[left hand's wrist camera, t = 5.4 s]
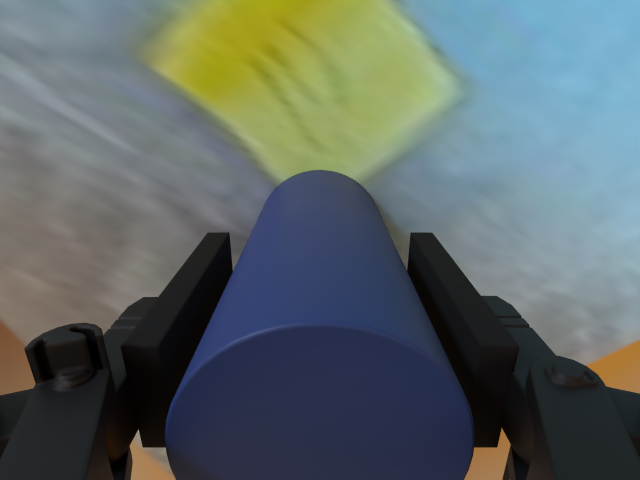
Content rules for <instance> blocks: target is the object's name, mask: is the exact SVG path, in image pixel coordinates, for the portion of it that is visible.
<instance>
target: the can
mask: <svg viewBox="0 0 640 480" xmlns="http://www.w3.org/2000/svg"><path fill="white" fill-rule="evenodd" d="M165 441H166V452H167V456H168V460H169V464H170V467H171V470H172V472H173V474H174V476H175V478H176V480H464V478H465V476H466V474H467V472H468V470H469V467H470V464H471V460H472V457H473V451H474V442H475V431H474V420H473V416H472V412H471V408H470V405H469V403H468V401H467V398H466V396H465V394H464V391H463V389H462V387H461V385H460V383H459V381H458V379H457V377H456V374H455V372H454V370H453V368H452V366H451V364H450V362H449V360H448V358H447V355H446V353H445V351H444V349H443V347H442V345H441V343H440V341H439V338H438V336H437V334H436V332H435V330H434V328H433V326H432V324H431V321H430V319H429V317H428V315H427V313H426V311H425V309H424V307H423V304H422V302H421V300H420V298H419V296H418V294H417V292H416V290H415V287H414V285H413V283H412V281H411V279H410V277H409V275H408V273H407V270H406V268H405V266H404V264H403V262H402V260H401V258H400V256H399V254H398V251H397V249H396V247H395V245H394V243H393V241H392V239H391V237H390V234H389V232H388V230H387V228H386V226H385V224H384V222H383V220H382V217H381V215H380V213H379V211H378V209H377V207H376V205H375V203H374V201H373V199H372V198H371V196H370V195H369V193H368V192H367V191H366V190H365V189H364V188H363V187H362V186H361V185H360V184H359V183H357V182H356V181H354V180H353V179H351V178H349V177H347V176H345V175H343V174H340V173H337V172H332V171H323V170H317V171H308V172H303V173H300V174H297V175H295V176H293V177H291V178H289V179H287V180H286V181H284V182H283V183H281V184H280V185H279V186H278V187H277V188H276V189H275V190H274V191H273V192H272V193H271V195H270V196H269V198H268V199H267V201H266V203H265V205H264V207H263V209H262V211H261V213H260V216H259V218H258V220H257V222H256V224H255V226H254V228H253V230H252V233H251V235H250V237H249V239H248V241H247V243H246V245H245V247H244V250H243V252H242V254H241V256H240V258H239V260H238V262H237V264H236V267H235V269H234V271H233V273H232V275H231V277H230V279H229V281H228V284H227V286H226V288H225V290H224V292H223V294H222V296H221V298H220V301H219V303H218V305H217V307H216V309H215V311H214V313H213V315H212V318H211V320H210V322H209V324H208V326H207V328H206V330H205V332H204V335H203V337H202V339H201V341H200V343H199V345H198V347H197V349H196V352H195V354H194V356H193V358H192V360H191V362H190V364H189V366H188V369H187V371H186V373H185V375H184V377H183V379H182V381H181V383H180V386H179V388H178V390H177V392H176V394H175V396H174V398H173V400H172V403H171V405H170V409H169V412H168V416H167V420H166V430H165Z"/></svg>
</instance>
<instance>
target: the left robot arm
mask: <svg viewBox="0 0 640 480" xmlns="http://www.w3.org/2000/svg"><path fill="white" fill-rule="evenodd" d="M232 273H233V269H232V258H231V247H230V236H229V233H207V235H206V236H205V237H204V238H203V240H202V241H201V242H200V244H199V245H198V246H197V248H196V249H195V250H194V251H193V253H192V254H191V255H190V257H189V258H188V259H187V261H186V262H185V263H184V264H183V266H182V267H181V268H180V270H179V271H178V272H177V274H176V275H175V276H174V277H173V279H172V280H171V281H170V283H169V284H168V285H167V286H166V288H165V289H164V290H163V292H162V293H161V294H160V296H159V297H143V298H142V299H140V300H138V301H137V302H135V303H133V304H132V305H130V306H129V307H128V308H127V309H126V310H125V311H124V312H123V313H122V314H121V316H120V317H119V320H116V321H115V323H114V324H113V325H112V326H111V329H108V331H107V332H106V333H105V334H104V335H103V333H102V329H101V328H99V327H98V326H97V325H94V324H89V323H77V324H70V325H65V326H61V327H57V328H55V329H53V330H50V331H48V332H45V333H43V334H42V335H40V336H38V337H37V338H35V339H34V340H32V341H31V342H30V343H29V344H28V345H27V346H26V348H25V352H26V355H27V358H28V361H29V364H30V367H31V370H32V373H33V377H34V380H35V383H36V385H35V387H34V388H33V389H29V390H24V391H19V392H15V393H10V394H5V395H0V480H131V471H132V455H131V450H130V444H131V442H132V440H133V438H134V436H135V434H136V433H137V431H138V429H139V432H140V437H141V441H142V446H143V447H166V441H165V430H166V420H167V416H168V412H169V409H170V405H171V403H172V400H173V398H174V396H175V394H176V392H177V390H178V388H179V386H180V383H181V381H182V379H183V377H184V375H185V373H186V371H187V369H188V366H189V364H190V362H191V360H192V358H193V356H194V354H195V352H196V349H197V347H198V345H199V343H200V341H201V339H202V337H203V335H204V332H205V330H206V328H207V326H208V324H209V322H210V320H211V318H212V315H213V313H214V311H215V309H216V307H217V305H218V303H219V301H220V298H221V296H222V294H223V292H224V290H225V288H226V286H227V284H228V281H229V279H230V277H231V275H232ZM407 273H408V275H409V277H410V279H411V281H412V283H413V285H414V287H415V290H416V292H417V294H418V296H419V298H420V300H421V302H422V304H423V307H424V309H425V311H426V313H427V315H428V317H429V319H430V321H431V324H432V326H433V328H434V330H435V332H436V334H437V336H438V338H439V341H440V343H441V345H442V347H443V349H444V351H445V353H446V355H447V358H448V360H449V362H450V364H451V366H452V368H453V370H454V372H455V374H456V377H457V379H458V381H459V383H460V385H461V387H462V389H463V391H464V394H465V396H466V398H467V401H468V403H469V405H470V408H471V412H472V416H473V420H474V431H475V442H474V447H497V446H498V441H499V437H500V432H501V428H502V429H503V431H504V432H505V434H506V436H507V438H508V440H509V442H510V444H511V446H510V450H509V454H508V458H507V463H506V467H505V471H504V475H503V480H509V479H510V480H640V394H639V393H634V392H629V391H624V390H619V389H614V388H610V387H606V386H605V384H604V382H603V381H602V380H601V378H600V377H599V376H598V374H596V373H595V372H593V371H592V370H591V369H589V368H588V367H587V366H585V365H583V364H581V363H579V362H576V361H574V360H572V359H568V358H565V357H561V356H556V355H555V354H554V353H553V351H552V350H551V349H550V348H549V347H548V346H547V345H546V344H545V342H544V341H543V340H542V339H541V338H540V337H539V336H538V334H537V333H536V332H535V331H534V330H533V329H532V328H530V327H529V324H528V323H527V322H526V321H525V320H524V318H521V315H520V314H519V313H518V312H517V311H516V309H515V308H514V307H513V306H512V305H511V304H509V303H507V302H506V301H504V300H502V299H501V298H499V297H497V296H480V294H479V293H478V292H477V290H476V289H475V288H474V286H473V285H472V284H471V283H470V281H469V280H468V279H467V277H466V276H465V275H464V273H463V272H462V271H461V270H460V268H459V267H458V266H457V264H456V263H455V262H454V260H453V259H452V258H451V257H450V255H449V254H448V253H447V251H446V250H445V249H444V247H443V246H442V245H441V244H440V242H439V241H438V240H437V238H436V237H435V236H434V234H433V233H411V236H410V247H409V258H408V269H407Z"/></svg>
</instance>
